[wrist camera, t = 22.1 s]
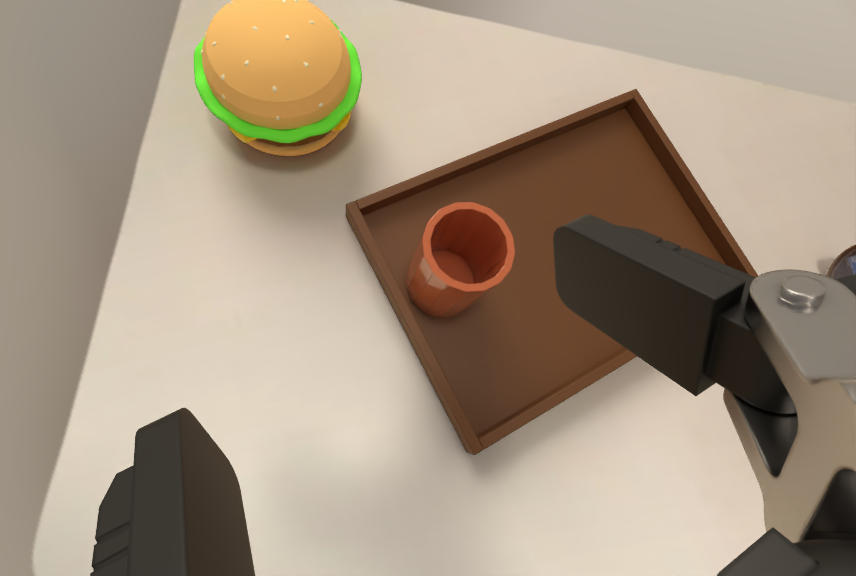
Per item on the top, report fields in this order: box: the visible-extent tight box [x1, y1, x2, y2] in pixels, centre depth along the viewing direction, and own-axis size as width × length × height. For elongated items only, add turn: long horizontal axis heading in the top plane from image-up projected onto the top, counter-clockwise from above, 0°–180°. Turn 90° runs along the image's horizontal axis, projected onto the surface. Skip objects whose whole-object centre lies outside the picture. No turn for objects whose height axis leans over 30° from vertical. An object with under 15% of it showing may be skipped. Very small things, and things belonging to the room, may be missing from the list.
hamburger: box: [194, 0, 362, 156], centre depth 34 cm, size 12×12×9 cm
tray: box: [346, 89, 758, 455], centre depth 38 cm, size 30×21×2 cm
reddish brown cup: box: [406, 202, 515, 318], centre depth 32 cm, size 6×6×8 cm
